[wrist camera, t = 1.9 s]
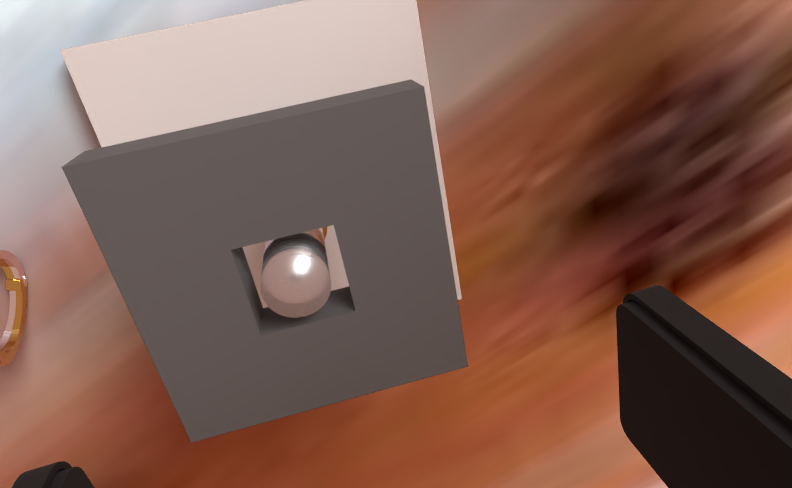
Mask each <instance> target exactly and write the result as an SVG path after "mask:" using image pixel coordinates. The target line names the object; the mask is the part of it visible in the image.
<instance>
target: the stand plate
mask: <svg viewBox="0 0 792 488" xmlns="http://www.w3.org/2000/svg"><path fill="white" fill-rule="evenodd" d="M60 51H61V54H62V56H63V58H64V61H65V63H66V65H67V68H68V70H69V72H70V75H71V77H72V79H73V82H74V84H75V86H76V89H77V91H78V93H79V96H80V98H81V100H82V103H83V105H84V107H85V110H86V112H87V114H88V117H89V119H90V121H91V124H92V126H93V128H94V131H95V133H96V135H97V138H98V140H99V142H100V145H101V147H107V146H111V145H116V144H120V143H125V142H129V141H134V140H138V139H143V138H147V137H152V136H156V135H161V134H166V133H170V132H175V131H179V130H184V129H188V128H193V127H197V126H202V125H206V124H211V123H215V122H220V121H224V120H229V119H234V118H238V117H243V116H247V115H252V114H256V113H261V112H265V111H270V110H274V109H279V108H283V107H288V106H292V105H297V104H301V103H306V102H311V101H315V100H320V99H324V98H329V97H333V96H338V95H342V94H347V93H351V92H356V91H360V90H365V89H369V88H374V87H378V86H383V85H388V84H392V83H397V82H401V81H406V80H410V79H411V80H413V81H415V82H417V83H419V84H420V85H422V86H424V89H425V95H426V102H427V108H428V114H429V121H430V127H431V134H432V140H433V146H434V153H435V159H436V165H437V172H438V178H439V185H440V191H441V197H442V204H443V210H444V216H445V223H446V229H447V236H448V242H449V248H450V255H451V261H452V267H453V274H454V280H455V286H456V293H457V299H458V300H459V299H462V297H461V290H460V283H459V277H458V270H457V264H456V257H455V251H454V244H453V238H452V231H451V225H450V218H449V211H448V205H447V198H446V192H445V185H444V179H443V172H442V166H441V159H440V153H439V146H438V140H437V133H436V126H435V120H434V113H433V107H432V100H431V94H430V87H429V81H428V74H427V68H426V61H425V54H424V48H423V41H422V35H421V28H420V22H419V15H418V9H417V2H416V0H305V1H301V2H296V3H291V4H286V5H281V6H276V7H271V8H266V9H261V10H256V11H251V12H246V13H241V14H236V15H231V16H227V17H222V18H217V19H212V20H207V21H202V22H197V23H192V24H187V25H182V26H177V27H172V28H167V29H162V30H157V31H153V32H148V33H143V34H138V35H133V36H128V37H123V38H118V39H113V40H108V41H103V42H98V43H93V44H88V45H83V46H78V47H74V48H69V49H64V50H60ZM324 242H325V248H326V254H327V260H328V266H329V272H330V279H331V291H333V290H337V289H341V288H345V287H348V286H349V283H348V279H347V275H346V272H345V268H344V264H343V260H342V256H341V252H340V248H339V244H338V240H337V236H336V232H335V228H334V225H331V226H327V234H326V237H325V240H324ZM264 244H265V242H261V243H257V244H253V245H249V246H245V247H242V248H243V250H244V253H245V256H246V259H247V262H248V265H249V268H250V271H251V274H252V277H253V280H254V283H255V286H256V289H257V291H258V294H259V297H260V300H261V303H262V306H263V308H266V307H268V306H267V304H266V303H265V302H264V300H263V298H262V295H261V288H260V287H261V275H262V265H263V255H264Z"/></svg>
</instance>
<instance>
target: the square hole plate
mask: <svg viewBox="0 0 792 488" xmlns="http://www.w3.org/2000/svg"><path fill="white" fill-rule="evenodd" d="M62 169H63V171H64V173H65V175H66V177H67V179H68V181H69V184H70V186H71V188H72V190H73V192H74V194H75V196H76V198H77V201H78V203H79V205H80V207H81V209H82V211H83V213H84V215H85V218H86V220H87V222H88V224H89V226H90V228H91V230H92V233H93V235H94V237H95V239H96V241H97V243H98V245H99V247H100V250H101V252H102V254H103V256H104V258H105V260H106V262H107V264H108V267H109V269H110V271H111V273H112V275H113V277H114V279H115V281H116V284H117V286H118V288H119V290H120V292H121V294H122V296H123V298H124V301H125V303H126V305H127V307H128V309H129V311H130V313H131V316H132V318H133V320H134V322H135V324H136V326H137V328H138V330H139V333H140V335H141V337H142V339H143V341H144V343H145V345H146V347H147V350H148V352H149V354H150V356H151V358H152V360H153V362H154V364H155V367H156V369H157V371H158V373H159V375H160V377H161V379H162V381H163V384H164V386H165V388H166V390H167V392H168V394H169V396H170V399H171V401H172V403H173V405H174V407H175V409H176V411H177V413H178V416H179V418H180V420H181V422H182V424H183V426H184V428H185V430H186V433H187V435H188V437H189V439H190V441H191V443H192V442H195V441H199V440H203V439H206V438H210V437H213V436H217V435H221V434H224V433H228V432H232V431H235V430H239V429H243V428H246V427H250V426H253V425H257V424H261V423H264V422H268V421H272V420H275V419H279V418H283V417H286V416H290V415H293V414H297V413H301V412H304V411H308V410H312V409H315V408H319V407H322V406H326V405H330V404H333V403H337V402H341V401H344V400H348V399H352V398H355V397H359V396H362V395H366V394H370V393H373V392H377V391H381V390H384V389H388V388H391V387H395V386H399V385H402V384H406V383H410V382H413V381H417V380H421V379H424V378H428V377H431V376H435V375H439V374H442V373H446V372H450V371H453V370H457V369H460V368H464V367H468V363H467V357H466V350H465V344H464V337H463V331H462V325H461V318H460V312H459V306H458V299H457V293H456V286H455V280H454V274H453V267H452V261H451V255H450V248H449V242H448V236H447V229H446V223H445V216H444V210H443V204H442V197H441V191H440V185H439V178H438V172H437V165H436V159H435V153H434V146H433V140H432V134H431V127H430V121H429V114H428V108H427V102H426V95H425V89H424V86H422V85H420V84H419V83H417V82H415V81H413V80H411V79H410V80H406V81H401V82H397V83H392V84H388V85H383V86H378V87H374V88H369V89H365V90H360V91H356V92H351V93H347V94H342V95H338V96H333V97H329V98H324V99H320V100H315V101H311V102H306V103H301V104H297V105H292V106H288V107H283V108H279V109H274V110H270V111H265V112H261V113H256V114H252V115H247V116H243V117H238V118H234V119H229V120H224V121H220V122H215V123H211V124H206V125H202V126H197V127H193V128H188V129H184V130H179V131H175V132H170V133H166V134H161V135H156V136H152V137H147V138H143V139H138V140H134V141H129V142H125V143H120V144H116V145H111V146H107V147H102V148H98V149H93V150H89V151H85V152H83V153H82V154H80V155H79V156H77V157H76V158H74V159H73V160H71V161H70V162H69V163H67V164H66V165H64V166H63V167H62ZM331 225H334V228H335V232H336V236H337V240H338V244H339V248H340V252H341V256H342V260H343V264H344V268H345V272H346V275H347V279H348V283H349V286H348V287H345V288H341V289H337V290H333V291H331V292H330V296H329V298H328V300H327V302H326V303H325V304H324V305H323V306H322V307H321V308H320V309H319V310H318V311H316V312H315V313H313V314H311V315H308V316H304V317H298V318H292V317H286V316H282V315H280V314H278V313H276V312H274V311H273V310H271V309H270V308H269V307H266V308H263V306H262V303H261V300H260V297H259V294H258V291H257V289H256V286H255V283H254V280H253V277H252V274H251V271H250V268H249V265H248V262H247V259H246V256H245V253H244V250H243V248H242V247H245V246H249V245H253V244H257V243H261V242H265V241H270V240H274V239H278V238H282V237H286V236H290V235H294V234H298V233H302V232H307V231H311V230H315V229H319V228H323V227H327V226H331Z"/></svg>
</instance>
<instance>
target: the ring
mask: <svg viewBox="0 0 792 488" xmlns="http://www.w3.org/2000/svg"><path fill="white" fill-rule="evenodd" d="M0 266H1V267H2V268H3V270H4V272H5V274H6V277H7V279H6V283H5V284H6V289H7V291H9V293H10V307H9V315H8V320H7V324H6V328H5V331H4V333H3V336H2V338H1V340H0V365H8V364H9V363H11V361H12V360H13V359H14V357H15V355H16V353H17V350H18V347H19V345H20V341H21V338H22V334H23V330H24V324H25V318H26V306H27V293H26V287H27V285H28V279H27V276H26V275H24V272H23V269H22V266H21V264H20V262H19V260H18V259H17V257H16V256H15V255H14V254H12V253H11V252H9V251H5V250H0Z"/></svg>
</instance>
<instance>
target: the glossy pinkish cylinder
mask: <svg viewBox="0 0 792 488" xmlns="http://www.w3.org/2000/svg"><path fill="white" fill-rule="evenodd" d="M326 234H327V227H323V228H319V229H315V230H311V231H307V232H302V233H298V234H294V235H290V236H286V237H282V238H278V239H274V240H270V241H265V244H264V255H263V265H262V275H261V287H260V288H261V295H262V298H263V300H264V302H265V303H266V304H267V306H268V307H269V308H270V309H271V310H273V311H274V312H276V313H278V314H280V315H282V316H286V317H292V318H298V317H304V316H308V315H311V314H313V313H315V312H316V311H318V310H319V309H320V308H321V307H322V306H323V305H324V304H325V303H326V302H327V300H328V298H329V296H330V292H331V279H330V272H329V266H328V260H327V254H326V248H325V242H324V240H325V237H326Z"/></svg>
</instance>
